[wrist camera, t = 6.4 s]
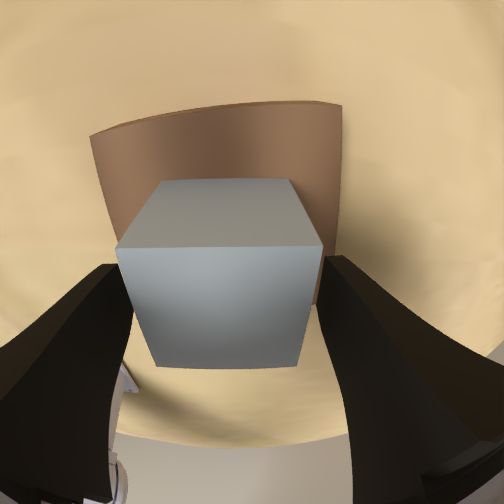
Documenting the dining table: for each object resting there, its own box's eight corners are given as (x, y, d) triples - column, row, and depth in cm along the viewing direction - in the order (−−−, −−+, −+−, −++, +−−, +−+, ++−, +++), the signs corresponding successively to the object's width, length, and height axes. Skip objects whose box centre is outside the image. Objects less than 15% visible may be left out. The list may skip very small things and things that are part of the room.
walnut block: (161, 274, 18) (148, 317, 14) (124, 122, 12) (89, 136, 9) (311, 260, 18) (327, 302, 14) (314, 100, 12) (342, 105, 9)
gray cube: (176, 280, 13) (156, 366, 9) (161, 180, 10) (114, 248, 6) (279, 279, 13) (296, 366, 9) (288, 178, 10) (323, 246, 6)
